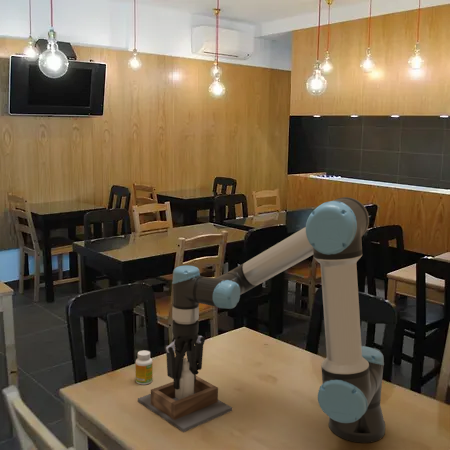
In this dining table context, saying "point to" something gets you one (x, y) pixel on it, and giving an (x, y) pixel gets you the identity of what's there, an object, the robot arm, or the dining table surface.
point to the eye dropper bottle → (187, 379)
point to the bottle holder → (186, 405)
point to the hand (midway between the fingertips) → (184, 395)
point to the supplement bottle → (143, 368)
